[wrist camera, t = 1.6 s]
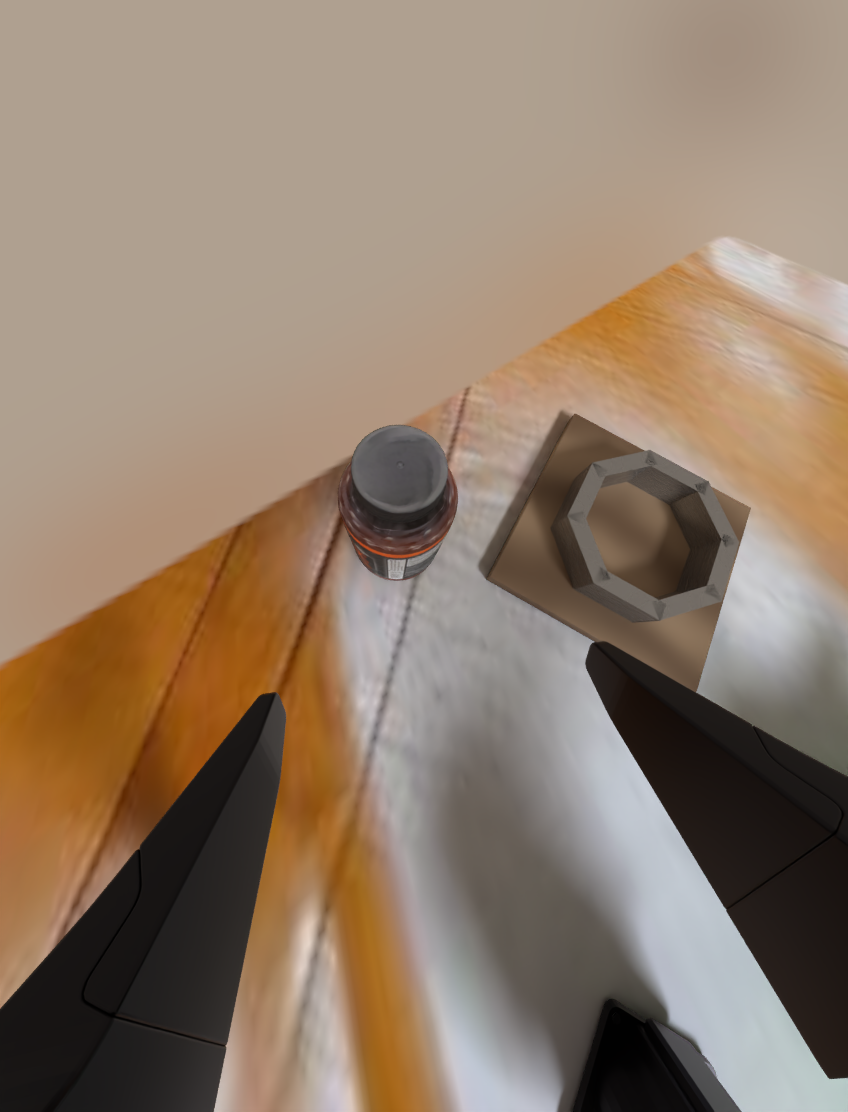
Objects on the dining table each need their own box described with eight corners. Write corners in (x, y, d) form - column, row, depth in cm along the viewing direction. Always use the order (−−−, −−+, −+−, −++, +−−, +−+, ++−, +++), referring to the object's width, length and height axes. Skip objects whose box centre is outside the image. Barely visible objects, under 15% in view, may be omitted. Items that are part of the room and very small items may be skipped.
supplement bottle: (342, 523, 24) (301, 427, 13) (415, 493, 25) (432, 382, 14) (376, 596, 23) (360, 558, 12) (450, 562, 24) (498, 498, 13)
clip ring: (675, 647, 23) (708, 648, 21) (531, 565, 24) (547, 557, 21) (717, 516, 26) (751, 504, 24) (589, 446, 27) (608, 427, 24)
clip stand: (683, 692, 23) (695, 694, 22) (486, 579, 24) (489, 576, 23) (738, 512, 27) (750, 508, 27) (568, 421, 28) (574, 413, 27)
